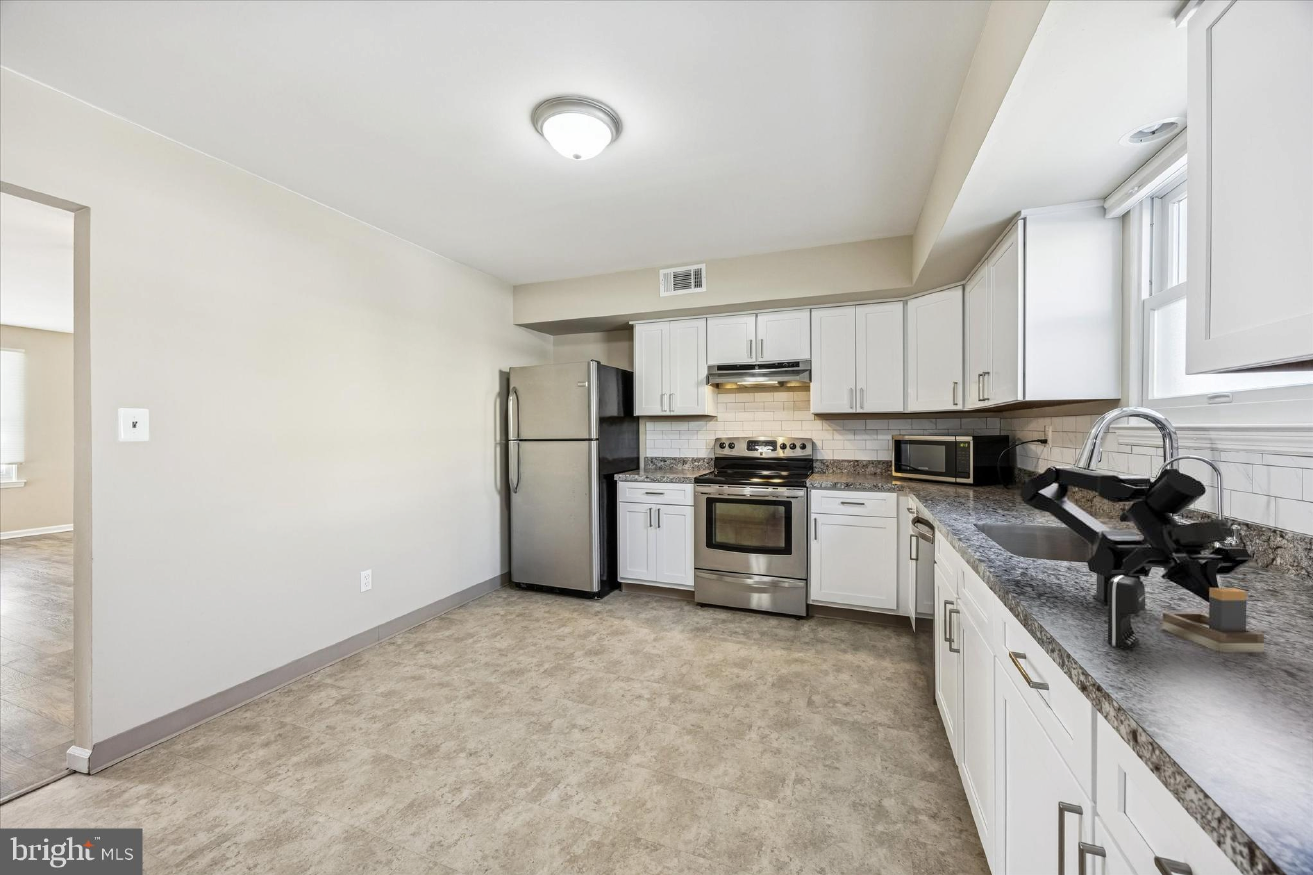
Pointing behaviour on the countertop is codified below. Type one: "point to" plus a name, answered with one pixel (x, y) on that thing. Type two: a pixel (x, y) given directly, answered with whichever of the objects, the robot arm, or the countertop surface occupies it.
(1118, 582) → the battery charger
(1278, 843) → the countertop surface
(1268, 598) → the countertop surface
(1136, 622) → the countertop surface
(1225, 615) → the fader lever
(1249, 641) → the tray
